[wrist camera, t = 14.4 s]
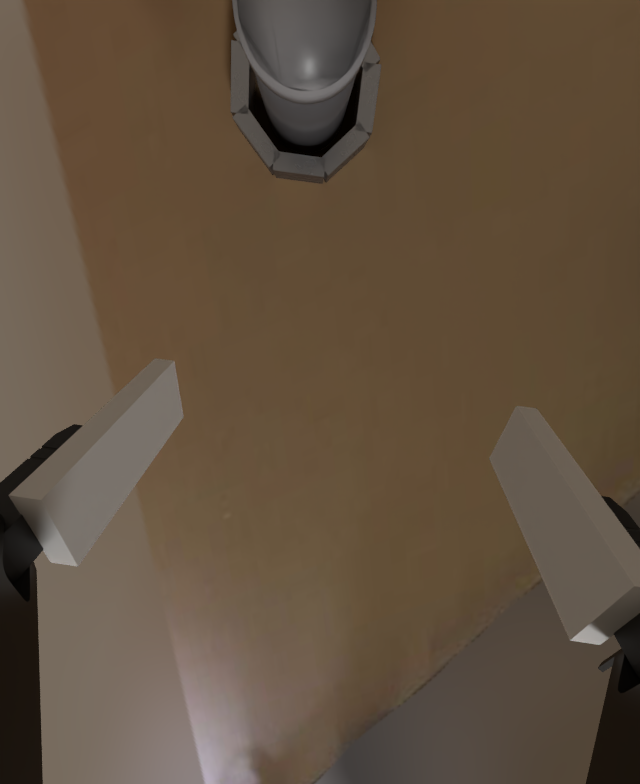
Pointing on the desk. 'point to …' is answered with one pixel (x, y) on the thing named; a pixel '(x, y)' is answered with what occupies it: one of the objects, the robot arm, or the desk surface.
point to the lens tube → (305, 62)
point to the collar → (296, 163)
